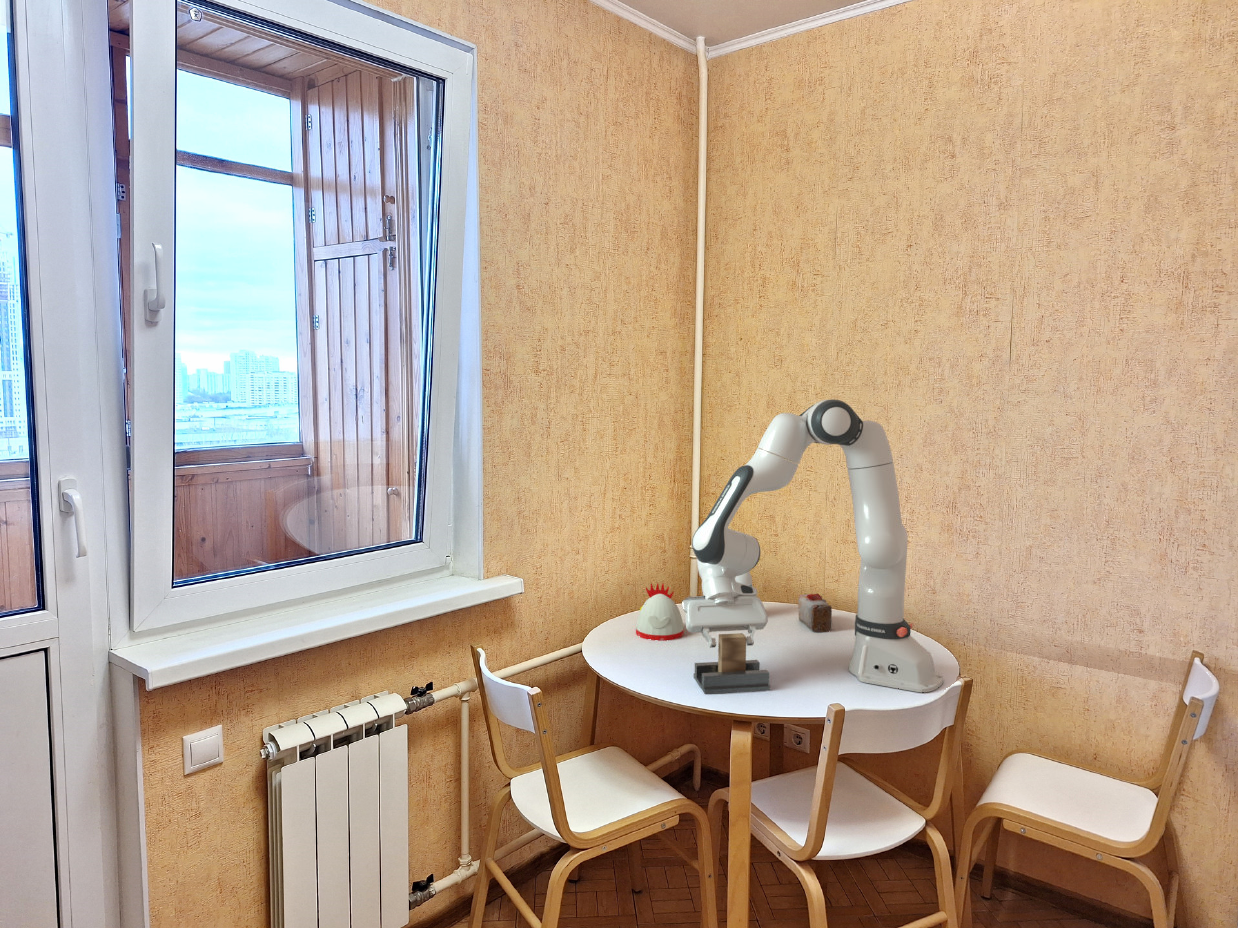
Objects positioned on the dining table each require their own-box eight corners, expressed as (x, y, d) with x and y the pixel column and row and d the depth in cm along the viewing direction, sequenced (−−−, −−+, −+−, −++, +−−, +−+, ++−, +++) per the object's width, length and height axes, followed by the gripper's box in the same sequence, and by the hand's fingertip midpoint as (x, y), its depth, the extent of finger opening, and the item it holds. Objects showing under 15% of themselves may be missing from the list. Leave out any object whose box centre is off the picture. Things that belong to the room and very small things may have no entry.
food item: (794, 619, 249) (795, 588, 248) (819, 618, 249) (820, 587, 248) (809, 633, 235) (810, 600, 234) (836, 632, 236) (837, 599, 235)
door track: (755, 673, 202) (755, 658, 202) (770, 690, 191) (770, 674, 191) (693, 677, 200) (693, 661, 199) (704, 694, 189) (705, 677, 188)
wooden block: (741, 676, 197) (742, 633, 196) (745, 681, 194) (746, 636, 193) (717, 677, 196) (718, 634, 195) (721, 682, 193) (722, 638, 192)
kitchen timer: (637, 625, 242) (638, 576, 240) (683, 626, 241) (684, 577, 239) (634, 640, 228) (634, 588, 227) (683, 641, 227) (683, 589, 225)
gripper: (683, 590, 199) (692, 641, 191) (762, 587, 202) (775, 637, 194) (678, 603, 204) (687, 653, 195) (756, 600, 207) (768, 649, 199)
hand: (731, 645), depth 195 cm, fingers open, 8 cm apart
